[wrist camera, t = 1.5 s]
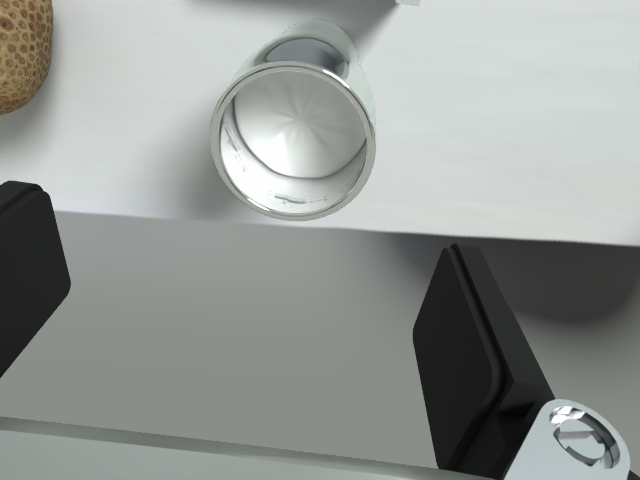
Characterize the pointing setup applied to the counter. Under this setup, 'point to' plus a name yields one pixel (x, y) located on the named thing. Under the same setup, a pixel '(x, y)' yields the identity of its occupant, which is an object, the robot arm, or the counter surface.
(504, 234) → the counter surface
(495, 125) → the counter surface
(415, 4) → the guarded tray
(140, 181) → the counter surface
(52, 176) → the counter surface
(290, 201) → the beer glass
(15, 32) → the natural sponge
